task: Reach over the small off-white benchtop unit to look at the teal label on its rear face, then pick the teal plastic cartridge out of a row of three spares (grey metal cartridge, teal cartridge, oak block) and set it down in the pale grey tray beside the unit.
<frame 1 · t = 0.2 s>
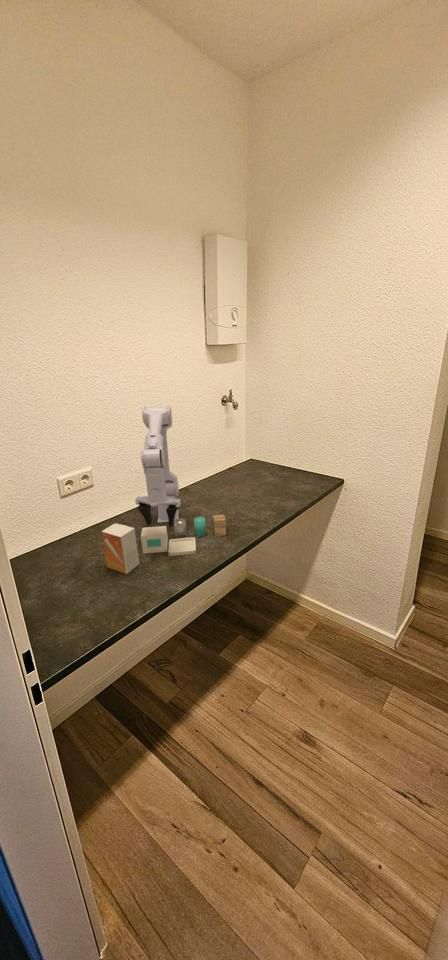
hand: (160, 525, 128), 10 cm above the worktop, fingers open, 7 cm apart
teal cartridge: (200, 534, 141), on the worktop
unit: (155, 548, 134), on the worktop
small box: (123, 566, 124), on the worktop
tray: (182, 547, 133), on the worktop
oak block: (220, 532, 142), on the worktop
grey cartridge: (181, 536, 141), on the worktop
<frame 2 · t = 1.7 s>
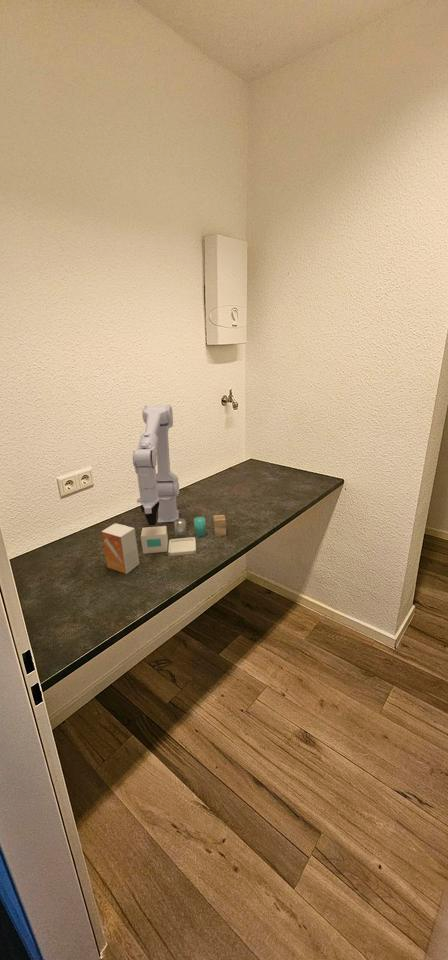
hand: (152, 524, 129), 9 cm above the worktop, fingers closed
nothing on the worktop moved.
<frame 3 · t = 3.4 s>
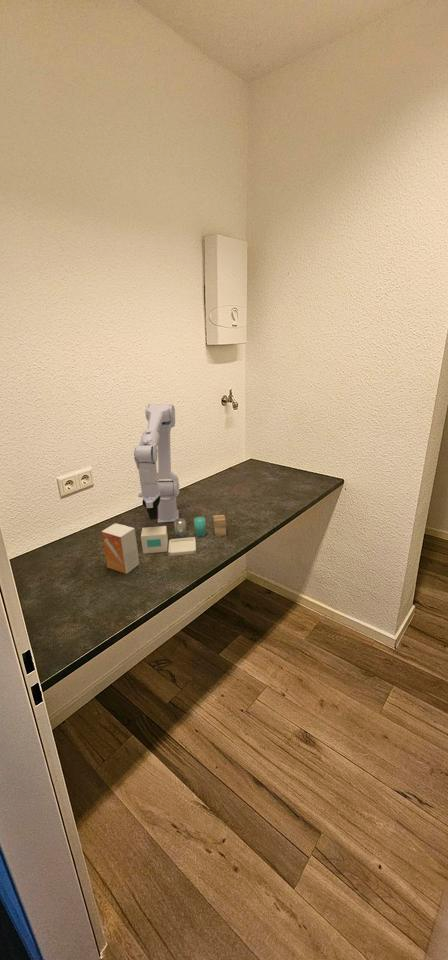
hand: (153, 518, 133), 10 cm above the worktop, fingers closed
nothing on the worktop moved.
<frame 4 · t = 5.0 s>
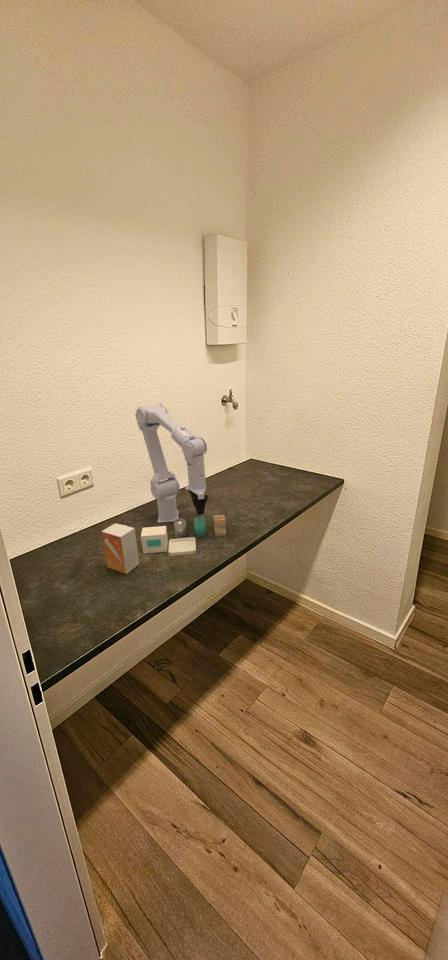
hand: (198, 510, 138), 9 cm above the worktop, fingers open, 6 cm apart
nothing on the worktop moved.
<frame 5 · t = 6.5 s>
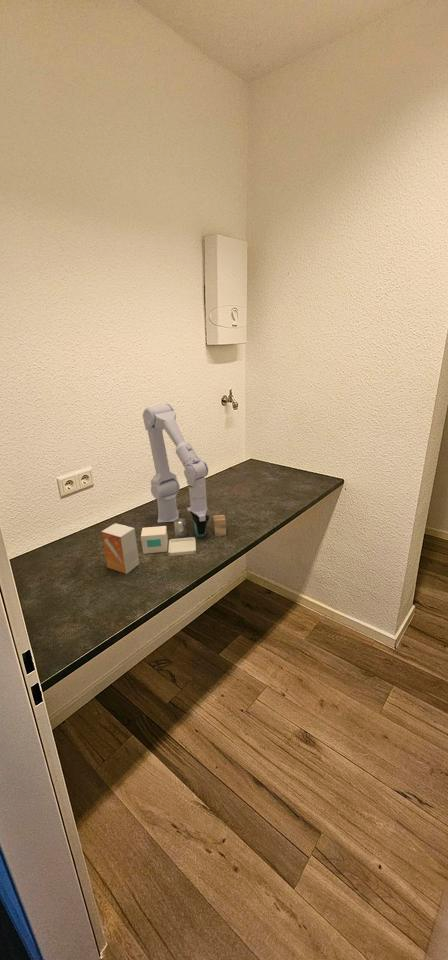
hand: (200, 530, 141), 1 cm above the worktop, fingers closed on teal cartridge, 4 cm apart
teal cartridge: (200, 534, 141), on the worktop, touching gripper
everything else where it was.
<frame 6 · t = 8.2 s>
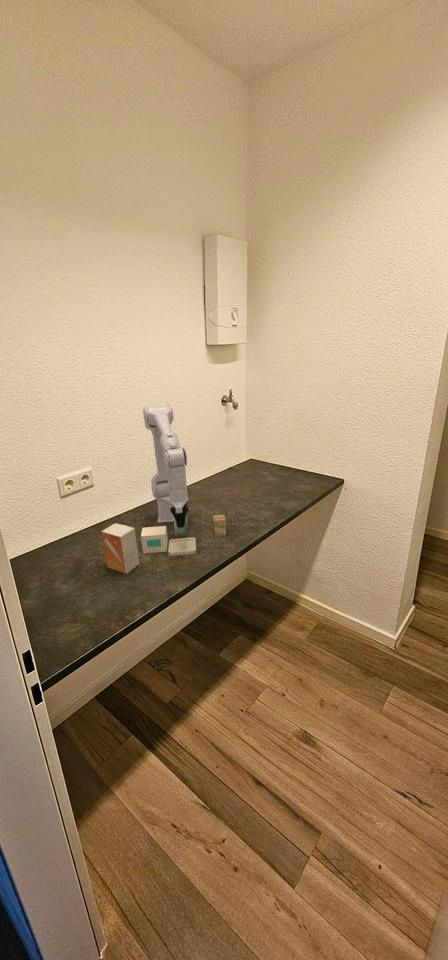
hand: (181, 523, 130), 9 cm above the worktop, fingers closed on teal cartridge, 4 cm apart
teal cartridge: (181, 527, 131), point 7 cm above the worktop, touching gripper
everything else where it was.
when the fingers open (3 cm above the worktop, at t = 9.8 s): teal cartridge drops 1 cm, resting on tray.
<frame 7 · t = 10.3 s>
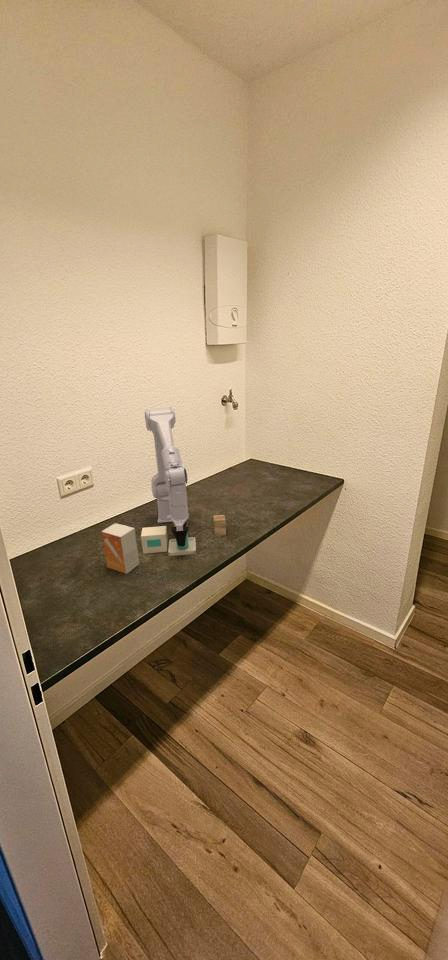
hand: (181, 540, 132), 3 cm above the worktop, fingers open, 7 cm apart
teal cartridge: (182, 546, 133), resting on tray
everything else where it was.
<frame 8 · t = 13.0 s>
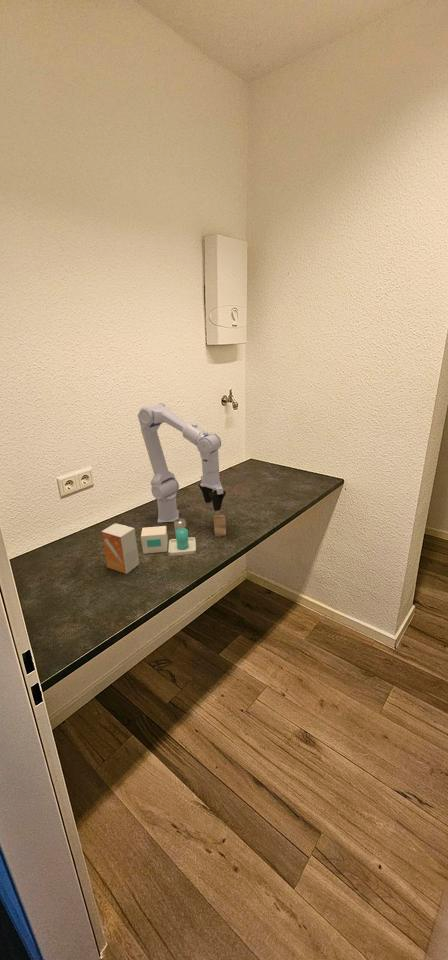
hand: (212, 506, 140), 10 cm above the worktop, fingers open, 7 cm apart
nothing on the worktop moved.
at the end: teal cartridge inside the target area on the tray (0.1 cm from its centre), point 0.5 cm above the tray's base; teal cartridge tilted 2°; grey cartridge moved 0.0 cm from its start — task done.
